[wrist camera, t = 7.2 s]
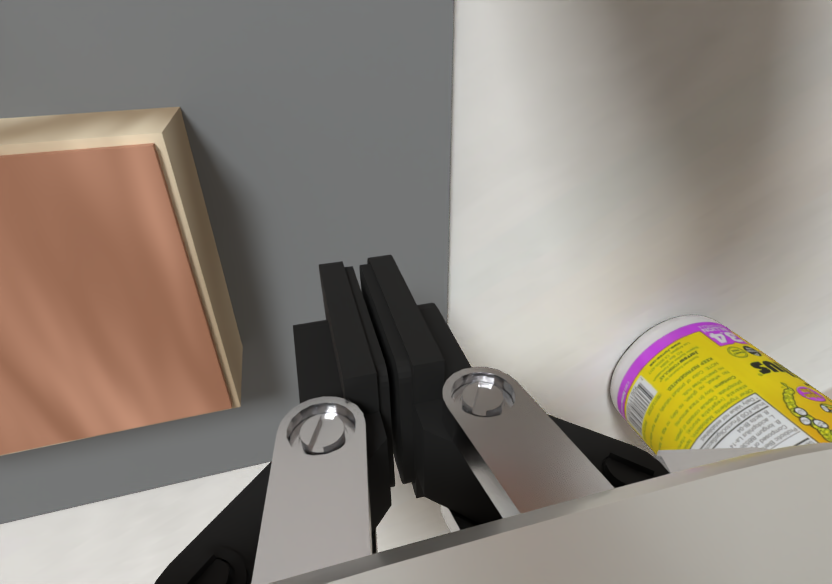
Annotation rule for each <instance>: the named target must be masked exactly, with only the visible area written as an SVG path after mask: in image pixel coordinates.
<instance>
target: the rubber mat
mask: <svg viewBox="0 0 832 584" xmlns="http://www.w3.org/2000/svg"><path fill="white" fill-rule="evenodd" d="M453 12H454V0H0V119H1V118H16V117H31V116H46V115H62V114H77V113H92V112H107V111H122V110H137V109H152V108H167V107H180V109H181V113H182V117H183V120H184V124H185V128H186V132H187V136H188V140H189V143H190V147H191V151H192V155H193V159H194V163H195V166H196V170H197V174H198V178H199V182H200V186H201V189H202V193H203V197H204V201H205V205H206V208H207V212H208V216H209V220H210V224H211V228H212V231H213V235H214V239H215V243H216V247H217V251H218V254H219V258H220V262H221V266H222V270H223V274H224V277H225V281H226V285H227V289H228V293H229V297H230V300H231V304H232V308H233V312H234V316H235V319H236V323H237V327H238V331H239V335H240V339H241V342H242V346H243V353H242V382H241V407H237V408H232V409H227V410H222V411H217V412H212V413H207V414H203V415H198V416H193V417H188V418H183V419H178V420H173V421H168V422H163V423H158V424H154V425H149V426H144V427H139V428H134V429H129V430H124V431H119V432H114V433H109V434H105V435H100V436H95V437H90V438H85V439H80V440H75V441H70V442H65V443H60V444H56V445H51V446H46V447H41V448H36V449H31V450H26V451H21V452H16V453H11V454H7V455H2V456H0V524H3V523H8V522H12V521H16V520H20V519H25V518H29V517H33V516H38V515H42V514H46V513H51V512H55V511H59V510H64V509H68V508H72V507H77V506H81V505H85V504H89V503H94V502H98V501H102V500H107V499H111V498H115V497H120V496H124V495H128V494H133V493H137V492H141V491H145V490H150V489H154V488H158V487H163V486H167V485H171V484H176V483H180V482H184V481H189V480H193V479H197V478H202V477H206V476H210V475H214V474H219V473H223V472H227V471H232V470H236V469H240V468H245V467H249V466H253V465H258V464H262V463H266V462H271V461H272V458H273V452H274V446H275V440H276V434H277V430H278V427H279V425H280V422H281V420H282V419H283V418H284V417H285V415H286V414H287V413H288V412H289V411H290V410H292V409H293V408H294V407H296V406H297V405H298V404H300V400H299V389H298V378H297V367H296V356H295V345H294V334H293V325H297V324H304V323H310V322H316V321H322V320H326V316H325V309H324V302H323V294H322V287H321V280H320V273H319V264H326V263H333V262H340V261H343V264H344V267H349V266H353V268H354V271H355V274H356V277H357V280H358V283H359V286H360V289H361V281H360V269H359V266H360V265H364V264H367V259H368V258H370V257H377V256H384V255H392V256H393V258H394V260H395V262H396V264H397V266H398V268H399V270H400V272H401V274H402V276H403V278H404V280H405V282H406V284H407V286H408V288H409V290H410V292H411V294H412V296H413V298H414V300H415V302H416V304H417V305H420V304H426V303H435V305H436V306H437V307H438V309H439V311H440V313H441V314H442V316H443V318H444V320H445V321H446V323H447V297H448V250H449V202H450V155H451V107H452V59H453Z"/></svg>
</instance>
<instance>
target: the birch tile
mask: <svg viewBox="0 0 832 584" xmlns="http://www.w3.org/2000/svg"><path fill="white" fill-rule="evenodd" d="M242 353H243V346H242V342H241V339H240V335H239V331H238V327H237V323H236V319H235V316H234V312H233V308H232V304H231V300H230V297H229V293H228V289H227V285H226V281H225V277H224V274H223V270H222V266H221V262H220V258H219V254H218V251H217V247H216V243H215V239H214V235H213V231H212V228H211V224H210V220H209V216H208V212H207V208H206V205H205V201H204V197H203V193H202V189H201V186H200V182H199V178H198V174H197V170H196V166H195V163H194V159H193V155H192V151H191V147H190V143H189V140H188V136H187V132H186V128H185V124H184V120H183V117H182V113H181V109H180V107H167V108H152V109H137V110H122V111H107V112H92V113H77V114H62V115H46V116H31V117H16V118H1V119H0V456H2V455H7V454H11V453H16V452H21V451H26V450H31V449H36V448H41V447H46V446H51V445H56V444H60V443H65V442H70V441H75V440H80V439H85V438H90V437H95V436H100V435H105V434H109V433H114V432H119V431H124V430H129V429H134V428H139V427H144V426H149V425H154V424H158V423H163V422H168V421H173V420H178V419H183V418H188V417H193V416H198V415H203V414H207V413H212V412H217V411H222V410H227V409H232V408H237V407H241V382H242Z"/></svg>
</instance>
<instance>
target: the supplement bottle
mask: <svg viewBox="0 0 832 584" xmlns="http://www.w3.org/2000/svg"><path fill="white" fill-rule="evenodd" d="M610 392H611V398H612V402H613V404H614V406H615V408H616V409H617V411H618V412H619V413H620V414H621V416H622V417H623V418H624V419H625V420H626V421H627V422H628V424H629V425H630V426H631V427H632V428H633V429H634V430H635V431H636V432H637V434H638V435H639V436H640V437H641V438H642V439H643V440H644V441H645V443H646V444H647V445H648V446H649V447H650V448H651V449H652V450H653V451H654V453H655V454H656V455H657V452H658V450H682V449H717V448H751V447H757V448H766V449H777V448H782V447H788V446H798V445H807V444H816V443H832V400H831V399H829V398H828V397H827V396H825V395H824V394H822V393H821V392H819V391H818V390H816V389H815V388H813V387H812V386H811V385H809V384H808V383H806V382H805V381H804V380H802V379H801V378H800V377H798V376H797V375H795V374H793V373H792V372H790V371H789V370H788V369H786V368H785V367H783V366H782V365H780V364H779V363H778V362H776V361H775V360H774V359H772V358H771V357H769V356H767V355H766V354H765V353H763V352H762V351H760V350H759V349H757V348H756V347H754V346H753V345H752V344H750V343H749V342H747V341H746V340H744V339H743V338H741V337H740V336H738V335H737V334H736V333H734V332H733V331H731V330H730V329H728V328H727V327H725V326H723V325H722V324H720V323H719V322H717V321H715V320H713V319H711V318H708V317H705V316H700V315H686V316H679V317H675V318H672V319H669V320H667V321H664V322H662V323H660V324H658V325H656V326H655V327H653V328H651V329H650V330H648V331H647V332H646V333H644V334H643V335H642V336H640V337H639V338H638V339H637V340H636V341H635V342H634V343H633V344H632V345H631V347H630V348H629V349H628V350H627V351H626V352H625V354H624V355H623V356H622V358H621V359H620V361H619V362H618V364H617V366H616V368H615V370H614V373H613V376H612V380H611V388H610Z"/></svg>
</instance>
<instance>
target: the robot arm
mask: <svg viewBox="0 0 832 584" xmlns="http://www.w3.org/2000/svg"><path fill="white" fill-rule="evenodd" d="M359 269H360V281H361V289H360V286H359V283H358V280H357V277H356V274H355V271H354V268H353V266H349V267H344V264H343V261H340V262H333V263H326V264H319V273H320V280H321V287H322V294H323V302H324V309H325V316H326V320H322V321H316V322H310V323H304V324H297V325H293V334H294V345H295V356H296V367H297V378H298V389H299V400H300V404H298V405H297V406H296V407H294V408H293V409H292V410H290V411H289V412H288V413H287V414H286V415H285V417H284V418H283V419H282V420H281V422H280V425H279V427H278V430H277V434H276V440H275V446H274V452H273V458H272V461H271V462H270V463H269V464H268V465H267V466H266V467H265V468H264V469H263V470H262V471H261V472H260V473H259V474H258V475H257V476H256V477H255V478H254V479H253V480H252V481H251V482H250V484H249V485H248V486H247V487H246V488H245V489H244V490H243V491H242V492H241V493H240V494H239V495H238V496H237V497H236V498H235V499H234V500H233V501H232V502H231V503H230V504H229V505H228V506H227V507H226V508H225V509H224V510H223V511H222V512H221V513H220V514H219V515H218V516H217V517H216V518H215V519H214V520H213V521H212V522H211V523H210V524H209V525H208V526H207V527H206V528H205V529H204V530H203V531H202V532H201V533H200V534H199V535H198V536H197V537H196V538H195V539H194V540H193V541H192V542H191V543H190V544H189V545H188V546H187V547H186V548H185V549H184V550H183V551H182V552H181V553H180V554H179V555H178V556H177V557H176V558H175V559H174V560H173V561H172V562H171V563H170V564H169V565H168V566H167V568H166V569H165V570H164V571H163V573H162V574H161V575H160V576H159V578H158V579H157V580H156V582H155V584H832V443H816V444H807V445H798V446H788V447H782V448H777V449H766V448H757V447H751V448H717V449H682V450H658V452H657V455H656V457H653V456H652V455H650V454H649V453H648V452H646V451H643V450H641V449H639V448H637V447H635V446H633V445H630V444H627V443H624V442H622V441H619V440H616V439H613V438H611V437H608V436H605V435H602V434H600V433H597V432H594V431H591V430H589V429H586V428H583V427H580V426H578V425H575V424H572V423H569V422H567V421H564V420H561V419H558V418H556V417H553V416H550V415H547V414H546V413H545V411H544V410H543V409H542V408H541V407H540V406H539V405H538V404H537V403H536V402H535V401H534V399H533V398H532V397H531V396H530V395H529V394H528V393H527V392H526V391H525V390H524V389H523V387H522V386H521V385H520V384H519V383H518V382H517V381H516V380H515V379H513V378H512V377H511V376H510V375H508V374H506V373H504V372H502V371H500V370H497V369H493V368H488V367H471V366H470V364H469V362H468V360H467V359H466V357H465V355H464V353H463V351H462V350H461V348H460V346H459V344H458V343H457V341H456V339H455V337H454V336H453V334H452V332H451V330H450V329H449V327H448V325H447V323H446V321H445V320H444V318H443V316H442V314H441V313H440V311H439V309H438V307H437V306H436V305H435V303H426V304H420V305H417V304H416V302H415V300H414V298H413V296H412V294H411V292H410V290H409V288H408V286H407V284H406V282H405V280H404V278H403V276H402V274H401V272H400V270H399V268H398V266H397V264H396V262H395V260H394V258H393V256H392V255H384V256H377V257H370V258H368V259H367V264H364V265H360V266H359ZM393 454H394V457H395V461H396V464H397V468H398V471H399V475H400V478H401V481H402V483H403V484H406V483H410V482H412V485H413V489H414V492H415V495H416V498H420V497H426V498H428V499H430V500H432V501H434V502H436V503H438V504H440V505H441V512H442V515H443V518H444V520H445V522H446V524H447V526H448V528H449V530H450V532H451V533H448V534H445V535H441V536H437V537H434V538H430V539H426V540H423V541H419V542H415V543H412V544H408V545H404V546H401V547H397V548H394V549H390V550H386V551H383V552H379V553H378V548H377V532H376V527H377V526H378V524H379V523H380V521H381V520H382V518H383V517H384V515H385V514H386V512H387V511H388V509H389V508H390V506H391V505H392V504H391V489H390V487H394V486H395V475H394V458H393Z"/></svg>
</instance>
